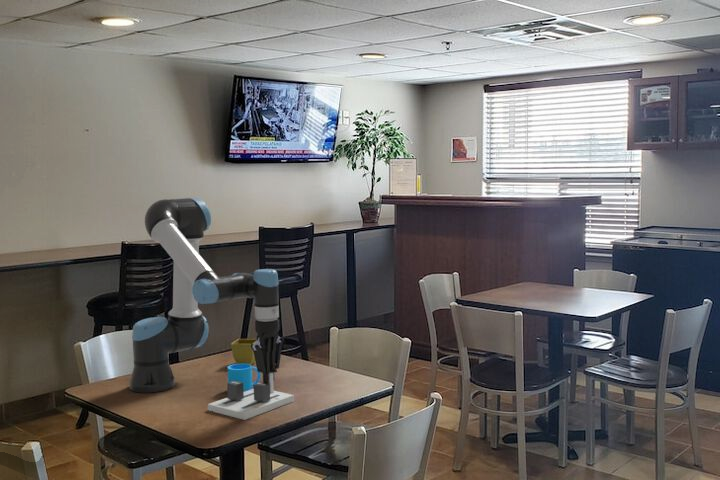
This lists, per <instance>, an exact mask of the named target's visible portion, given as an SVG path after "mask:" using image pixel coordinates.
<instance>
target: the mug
mask: <svg viewBox="0 0 720 480" xmlns="http://www.w3.org/2000/svg"><path fill="white" fill-rule="evenodd" d="M253 370H255V372H256V373H257V378H256V380H255V381H254V382H253ZM261 375H262V373H261V372H258V371H257V366H253V364H252V365H250V364H237V363H234V364H230V365H228V366H227V383H229V382H232V381H237V382H242V383H243V391H244V392H245V391H248V390H251V389H254V384H256V383H259V381H260V380H261V377H262V376H261Z"/></svg>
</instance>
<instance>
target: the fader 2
mask: <svg viewBox="0 0 720 480" xmlns="http://www.w3.org/2000/svg"><path fill="white" fill-rule="evenodd" d="M253 389H254V400H256V401H260V402H266V401H268V400H270V384H267V383H263V381H262V382H261V381H260V382H258V383H256V384H254V386H253Z"/></svg>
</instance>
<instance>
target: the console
mask: <svg viewBox="0 0 720 480" xmlns="http://www.w3.org/2000/svg"><path fill="white" fill-rule="evenodd" d="M294 402H295V395H294V394H291V393H286V392H283V391H279V390H278V391H276V390H274V393H272V394H270V400H268V401H266V402H260V401H256V400H254V388H253V389H251V390H248V391H245V392H244V398H243V399H241V400H238V401H235V400H231V399H228V396H227V397H225V398H222V399H219V400H216V401H213V402H210V403H208V404H207V411H210V412H212V411H213V413H217V414H219V415H220V414H221V415H225V416H227V417H232V418H236V419H240V420H244V421H246V420H249V419H251V418H253V417H256V416H258V415H262V414H264V413H266V412H269V411H272V410H275V409H278V408H279V407H282V406H285V405H288V404H291V403H294Z"/></svg>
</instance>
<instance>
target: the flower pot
mask: <svg viewBox="0 0 720 480" xmlns="http://www.w3.org/2000/svg"><path fill="white" fill-rule="evenodd" d="M256 341H257V340H256V338H238V339H236V340H235V341H233V342H231V343H230V347H231V350H232V351H231V352H232V357H233V359H234V361H235V364H250V365H252V366H253V364H254V363H256V361H255V357H254V352H253V350H252V348H251V344H255V342H256Z"/></svg>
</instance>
